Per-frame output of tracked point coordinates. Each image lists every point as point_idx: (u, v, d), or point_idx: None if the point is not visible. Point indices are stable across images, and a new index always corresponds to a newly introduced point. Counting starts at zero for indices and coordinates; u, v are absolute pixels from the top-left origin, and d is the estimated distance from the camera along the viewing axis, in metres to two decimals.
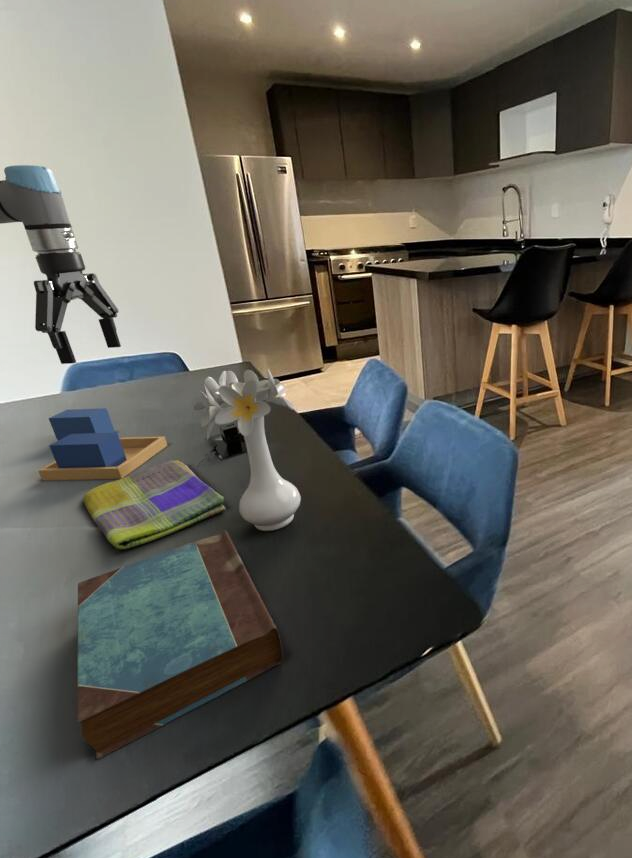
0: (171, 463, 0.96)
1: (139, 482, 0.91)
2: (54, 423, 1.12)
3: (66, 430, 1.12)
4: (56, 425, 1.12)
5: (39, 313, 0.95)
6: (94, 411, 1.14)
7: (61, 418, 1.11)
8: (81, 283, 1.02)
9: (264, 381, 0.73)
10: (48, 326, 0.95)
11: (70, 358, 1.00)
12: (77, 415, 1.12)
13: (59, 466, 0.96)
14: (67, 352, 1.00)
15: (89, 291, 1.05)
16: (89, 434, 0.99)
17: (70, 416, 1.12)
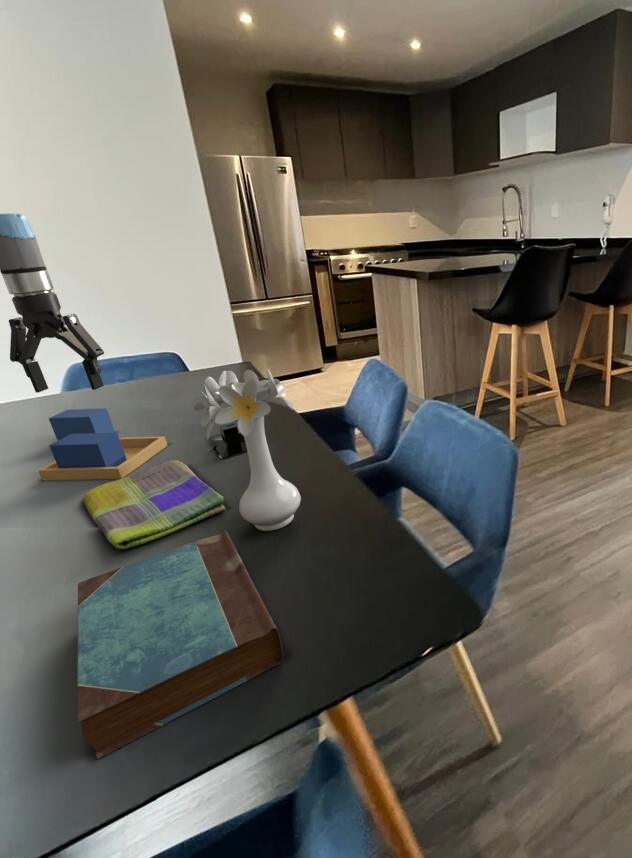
0: (171, 463, 0.96)
1: (139, 482, 0.91)
2: (54, 423, 1.12)
3: (66, 430, 1.12)
4: (56, 425, 1.12)
5: (89, 342, 1.06)
6: (94, 411, 1.14)
7: (61, 418, 1.11)
8: None
9: (264, 381, 0.73)
10: None
11: (101, 381, 1.11)
12: (77, 415, 1.12)
13: (59, 466, 0.96)
14: (98, 376, 1.11)
15: None
16: (89, 434, 0.99)
17: (70, 416, 1.12)
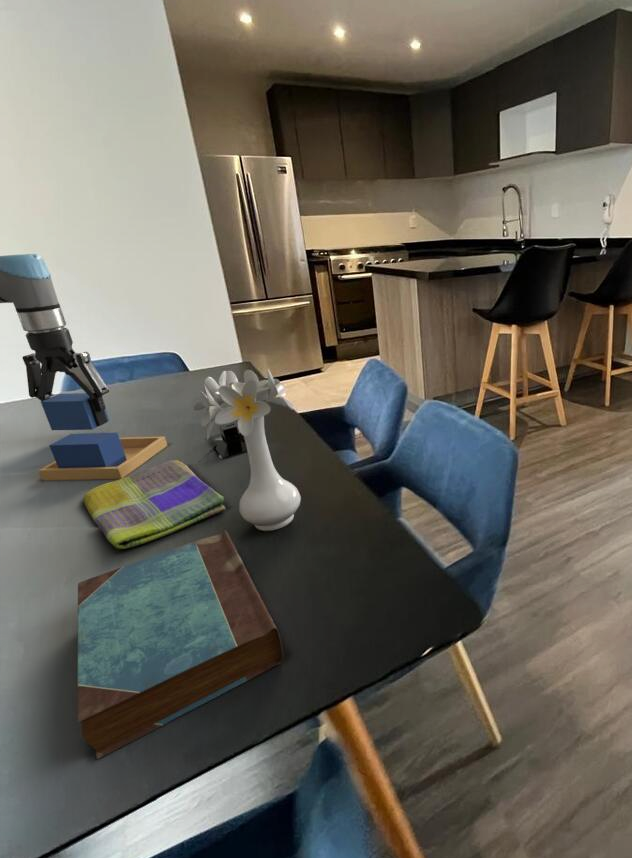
0: (171, 463, 0.96)
1: (139, 482, 0.91)
2: (46, 407, 1.10)
3: (58, 414, 1.11)
4: (48, 409, 1.11)
5: (97, 381, 1.10)
6: (87, 395, 1.12)
7: (53, 402, 1.10)
8: None
9: (264, 381, 0.73)
10: None
11: (105, 418, 1.15)
12: (70, 399, 1.11)
13: (59, 466, 0.96)
14: (103, 413, 1.14)
15: None
16: (89, 434, 0.99)
17: (63, 400, 1.10)
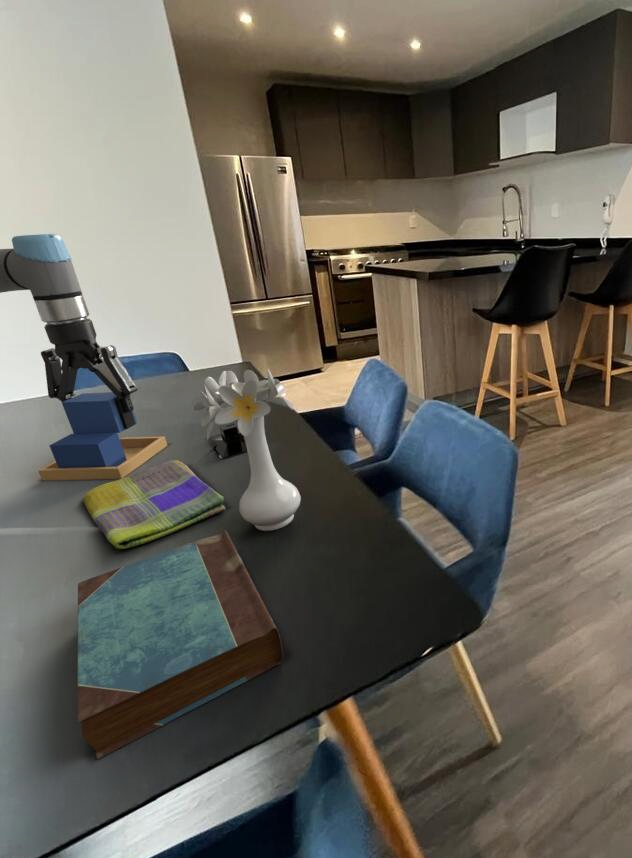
0: (171, 463, 0.96)
1: (139, 482, 0.91)
2: (68, 408, 0.98)
3: (81, 416, 0.99)
4: (70, 410, 0.98)
5: (124, 378, 0.97)
6: (113, 395, 1.00)
7: (76, 402, 0.98)
8: None
9: (264, 381, 0.73)
10: None
11: (133, 419, 1.03)
12: (94, 398, 0.98)
13: (59, 466, 0.96)
14: (131, 414, 1.02)
15: None
16: (89, 434, 0.99)
17: (86, 400, 0.98)
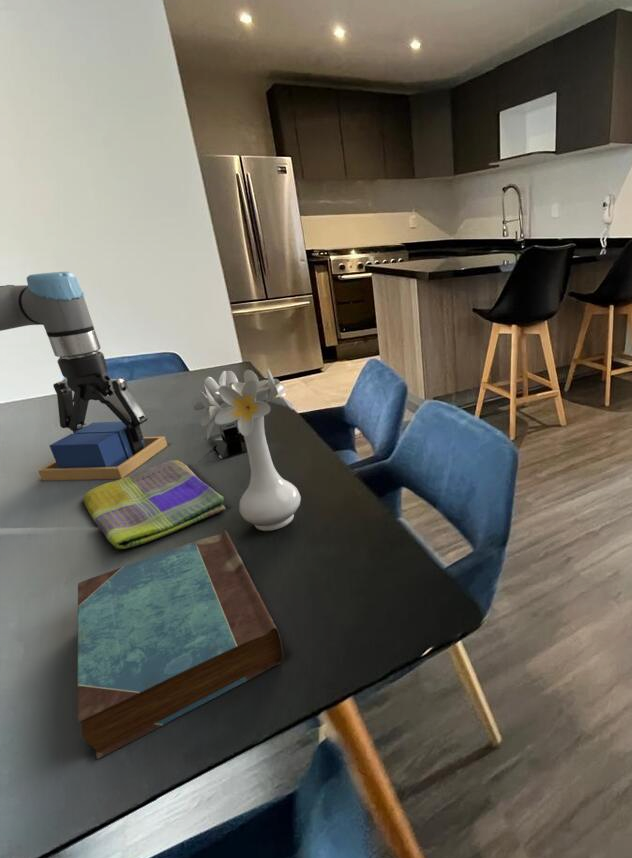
0: (171, 463, 0.96)
1: (139, 482, 0.91)
2: None
3: None
4: None
5: (134, 409, 1.00)
6: (123, 425, 1.03)
7: None
8: None
9: (264, 381, 0.73)
10: None
11: (143, 448, 1.05)
12: (105, 429, 1.01)
13: (59, 466, 0.96)
14: (140, 443, 1.04)
15: None
16: (89, 434, 0.99)
17: (97, 430, 1.00)
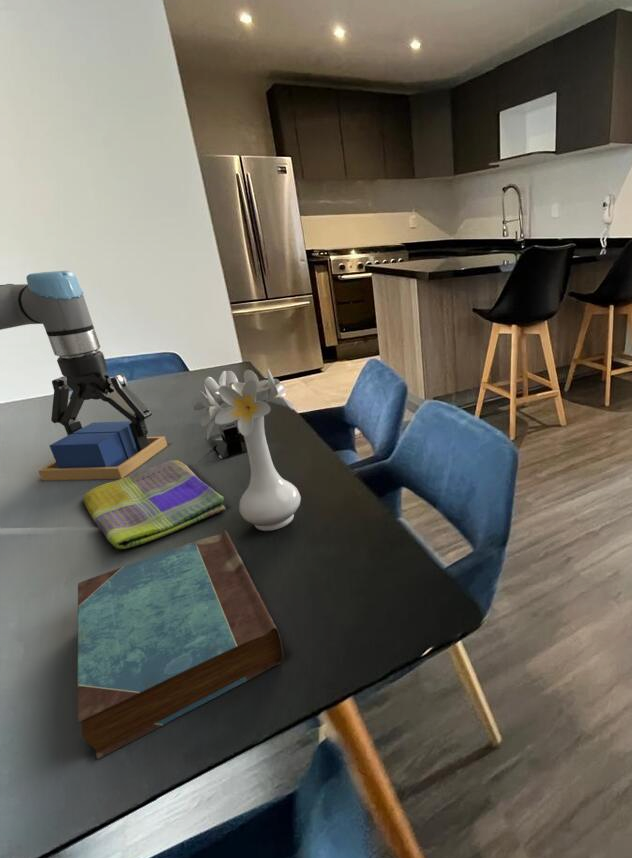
0: (171, 463, 0.96)
1: (139, 482, 0.91)
2: None
3: None
4: None
5: (137, 404, 0.99)
6: (123, 425, 1.03)
7: None
8: None
9: (264, 381, 0.73)
10: None
11: (147, 443, 1.05)
12: (104, 429, 1.01)
13: (59, 466, 0.96)
14: (145, 438, 1.04)
15: None
16: (89, 434, 0.99)
17: (97, 430, 1.00)
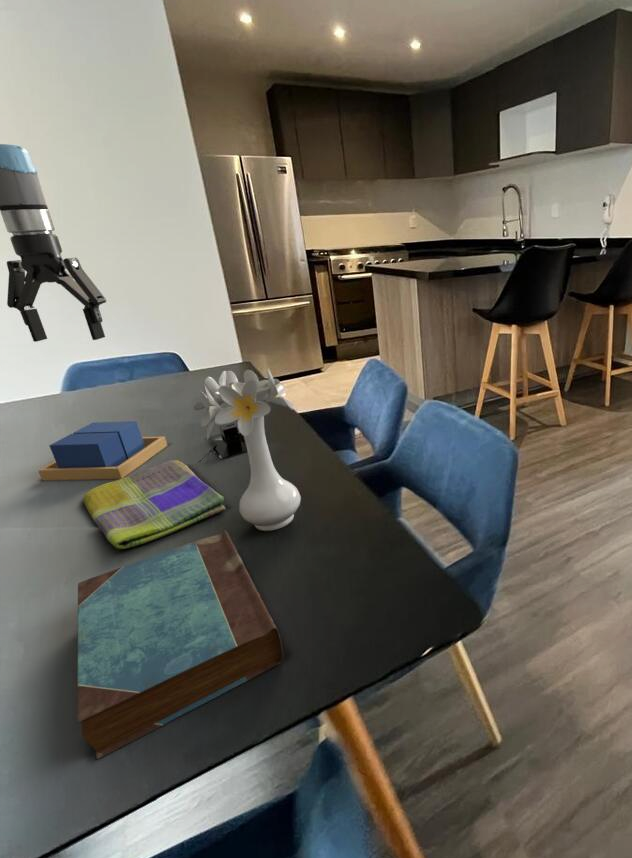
0: (171, 463, 0.96)
1: (139, 482, 0.91)
2: None
3: None
4: None
5: (90, 288, 1.01)
6: (123, 425, 1.03)
7: None
8: None
9: (264, 381, 0.73)
10: None
11: (102, 332, 1.06)
12: (104, 429, 1.01)
13: (59, 466, 0.96)
14: (100, 326, 1.05)
15: None
16: (89, 434, 0.99)
17: (97, 430, 1.00)
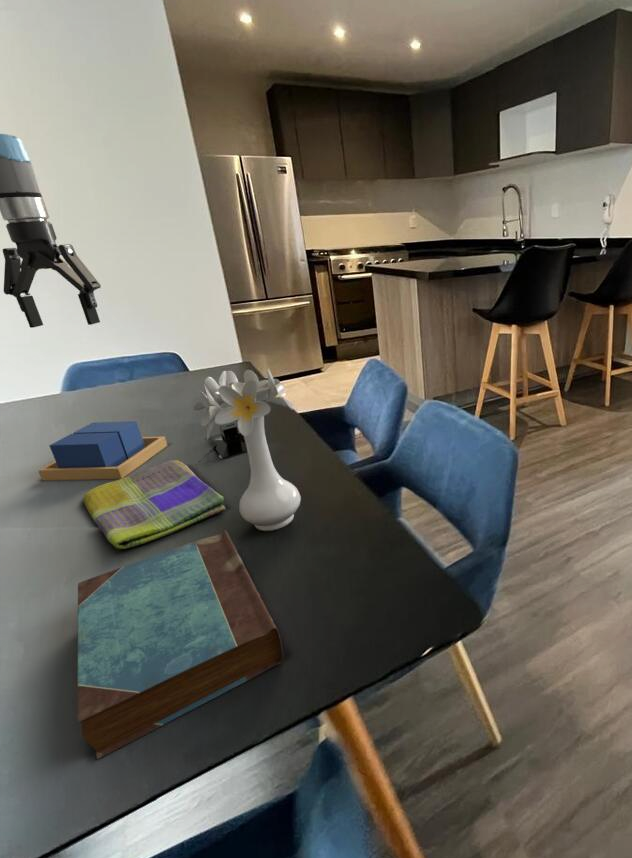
0: (171, 463, 0.96)
1: (139, 482, 0.91)
2: None
3: None
4: None
5: (85, 273, 1.04)
6: (123, 425, 1.03)
7: None
8: None
9: (264, 381, 0.73)
10: None
11: (97, 317, 1.09)
12: (104, 429, 1.01)
13: (59, 466, 0.96)
14: (95, 312, 1.08)
15: None
16: (89, 434, 0.99)
17: (97, 430, 1.00)
